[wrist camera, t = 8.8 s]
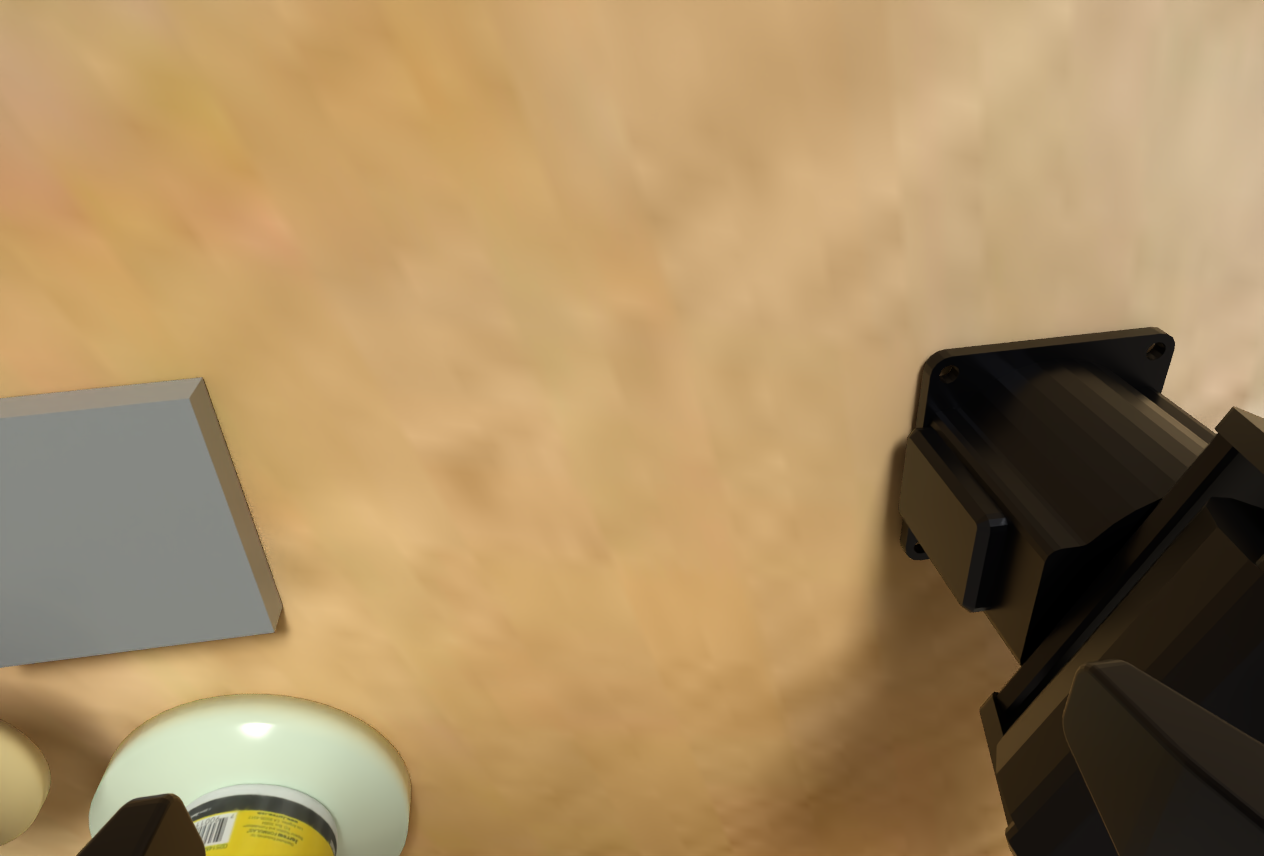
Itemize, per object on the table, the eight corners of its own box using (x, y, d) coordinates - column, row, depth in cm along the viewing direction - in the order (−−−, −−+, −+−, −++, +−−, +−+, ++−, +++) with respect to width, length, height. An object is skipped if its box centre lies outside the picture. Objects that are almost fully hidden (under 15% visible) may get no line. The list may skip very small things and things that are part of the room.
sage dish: (380, 674, 25) (375, 706, 24) (433, 859, 30) (430, 892, 29) (56, 717, 24) (36, 753, 23) (162, 900, 29) (150, 936, 28)
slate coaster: (202, 377, 20) (189, 398, 19) (282, 606, 23) (274, 632, 23) (-124, 411, 19) (-152, 434, 18) (10, 640, 23) (-9, 668, 22)
